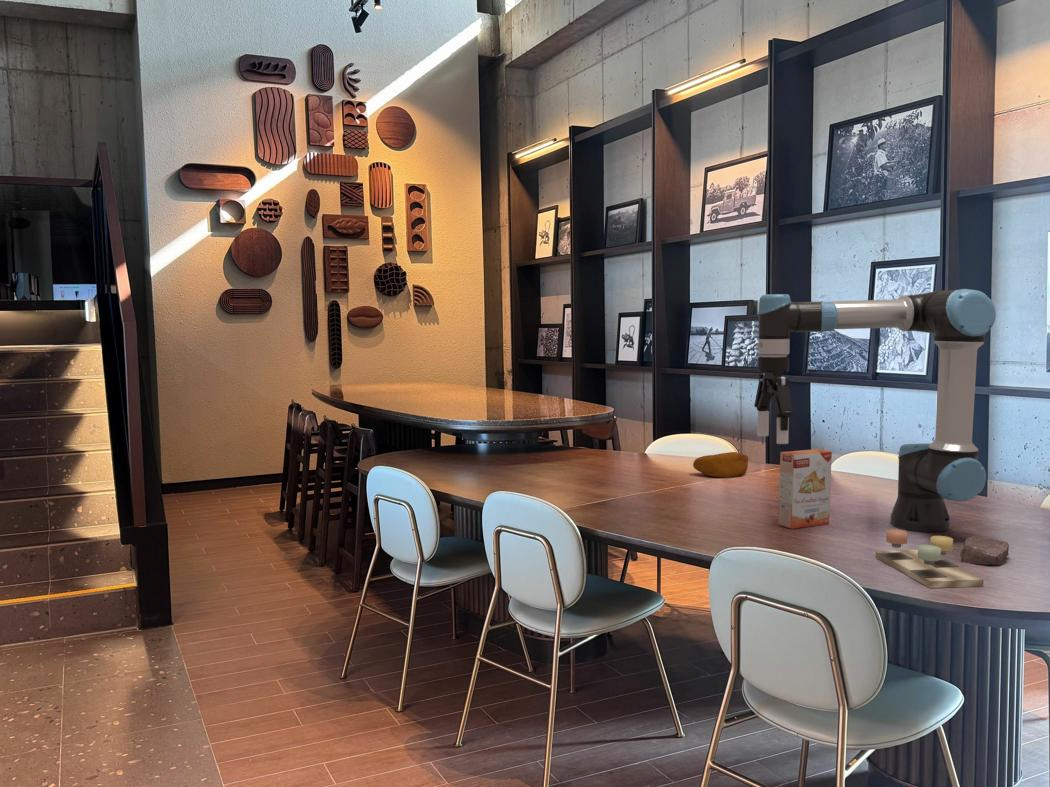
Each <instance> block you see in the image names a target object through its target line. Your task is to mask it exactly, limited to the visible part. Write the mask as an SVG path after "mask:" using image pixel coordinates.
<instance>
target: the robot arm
mask: <svg viewBox="0 0 1050 787" xmlns="http://www.w3.org/2000/svg"><path fill="white" fill-rule="evenodd" d="M758 301H759V302H758V310H757V315H758V342H757V343H756V347H757V348H758V350H757V351H758V355H759V357H757V370H758V372H760V373H759V374H758V385H757V390H756V394H755V401H754V408H756V410H757V437H769V435H770V433H769V432H770V430H769V429H770V426H769V425H770V424H769V423H770V411H771V409H770V407H769V405H770V403H771V400H772V396H773V399H774V404H775V407H776V410H777V413H776V415H775V418H776V444H777V445H787V444H788V445H789V434H790V432H789V428H790V426H789V425H790V420H789V419H790V417H792V416H793V415H794V411H793V406H792V405H793V404H792V399H791V393H790V388H789V377H788V376H783V373H787V372H789V371H790V358H789V356H788V355H790V343H791V342H790V340H791V339H790V333H798V332H799V333H803V332H804V333H814V332H820V333H823V332H832V331H833V330H848V329H849V330H854V329H857V330H858V329H862V330H863V329H890V328H891V329H894V328H895V329H896V328H897V329H898V330H899V331H902V332H917V333H918V332H920V333H921V332H922V333H927V334H928V333H929V334H933V343H934V344H935V345H936V346H937V347H938V348H939V361H938V363H939V364H938V376H937V377H938V380H937V396H936V397H937V398H936V399H937V400H936V418H935V434H934V435H935V436H934V440H933V441H932V442H931V443H904V444H902V445H901V446H900V447H899V449H898V451H899V452H898V458H897V459H898V471H897V472H898V474H897V475H898V477H897V478H898V479H897V498H896V501H895V502H894V506H893V509H892V511H891V513H890V519H889V520H890V521H889V524H890V525H891V526H893V527H894V528H895V527H896V528H898V529H901V530H905V531H906V530H907V531H913V532H924V533H926V532H927V533H936V532H939V533H940V532H946V531H948V530H950V529H951V519H950V515H949V512H948V508H947V505H946V503H945V500H947V501H953V502H960V503H961V502H967V501H970V500H972V499H974V498H975V497H976V496H977V495H979V494H980V493H981V492H982V490H983V489H984V487H985V485H986V481H987V471H986V469H985V467H984V466H983V465H982V463H981V462H980V461H979V460H978V458H979V448H978V447H977V446H975V444H974V443H973V426H974V413H975V412H974V410H975V396H976V394H975V393H976V376H977V358H978V357H977V356H978V349H979V348H980V347H981V346H983V345H984V344H985V338H986V337H985V336H986V334H987V333H988V332H990V329H991V328H993V326H994V324H995V321H996V317H997V316H996V315H997V313H996V312H997V311H996V308H995V304H994V303H993V300H992V299H991V298H989V296H988V295H987V294H985V293H984V292H982V291H980V290H977V289H969V288H961V289H950V290H949V289H948V290H944V289H943V290H936V291H935V290H934V291H930V292H923V293H919V294H909V295H900V296H899V297H898V298H897V299H872V300H871V299H868V300H866V299H865V300H836V301H834V300H831V301H829V300H828V301H823V300H822V301H797V302H796V301H792V300H791V296H790V295H789V294H787V293H785V294H783V293H780V294H779V293H777V294H775V293H774V294H763V295H761V296H760V297H759V300H758Z"/></svg>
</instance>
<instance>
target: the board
mask: <svg viewBox="0 0 1050 787" xmlns="http://www.w3.org/2000/svg"><path fill="white" fill-rule="evenodd" d="M875 558H876V559H878V560H880V561H881V562H884V563H885V564H887V565H888V566H890V567H892V568H893V569H896V570H897V571H899V572H901V573H902V574H904V575H906V576H908V577H910V578H911V579H913V580H914V581H917V582H919V583H920V584H921V585H923V586H926V587H927V588H929V589H943V588H944V589H945V588H946V589H947V588H971V587H972V588H974V587H975V588H976V587H984V579H983V578H981V577H980V576H978V575H975V574H973V573H972V572H969V571H967V570H965V569H963V568H961V567H960V565H958V564H956V563H954V562H951V561H950V560H948V559H945V558H944V559H943V558H941V560H939V561H934V564H933V565H927V564H924V560H922V559H919V558H918V549H897V550H875Z"/></svg>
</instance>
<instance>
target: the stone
mask: <svg viewBox="0 0 1050 787" xmlns="http://www.w3.org/2000/svg"><path fill="white" fill-rule="evenodd" d="M1009 547H1010V544H1009V542H1008V541H1004V540H1003V541H1002V540H998V539H995V538H992V537H987V536H986V537H984V536H976V535H973V536H971V537H968V538H966V539H965V541H964V543H963V548H961V550H960V557H961V558H960V559H961V561H962V563H967V564H978V565H991V566H994V565H998V566H1002V565H1003V564H1005V563H1006V560H1007V557H1008V556H1009V549H1010V548H1009Z"/></svg>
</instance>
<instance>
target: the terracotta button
mask: <svg viewBox="0 0 1050 787" xmlns="http://www.w3.org/2000/svg"><path fill="white" fill-rule="evenodd" d="M885 540H886V541H885V542H887V543H888V544H891V547H893V548H896V549H900V548H901V547H902V545H905V544H908V531H906V530H905V529H899V528H898V529H897V528H896V529H895V528H891V529H886V532H885Z"/></svg>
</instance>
